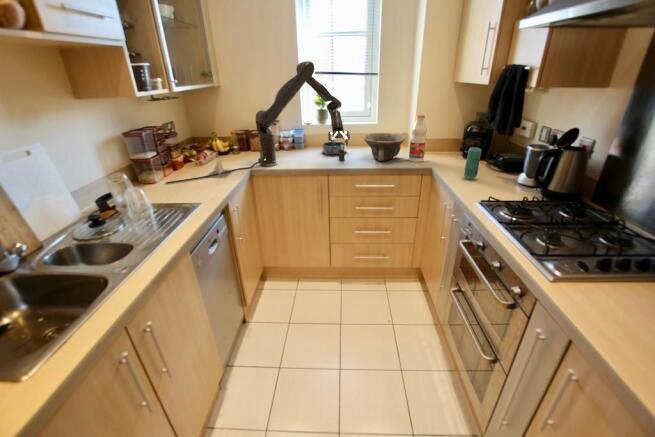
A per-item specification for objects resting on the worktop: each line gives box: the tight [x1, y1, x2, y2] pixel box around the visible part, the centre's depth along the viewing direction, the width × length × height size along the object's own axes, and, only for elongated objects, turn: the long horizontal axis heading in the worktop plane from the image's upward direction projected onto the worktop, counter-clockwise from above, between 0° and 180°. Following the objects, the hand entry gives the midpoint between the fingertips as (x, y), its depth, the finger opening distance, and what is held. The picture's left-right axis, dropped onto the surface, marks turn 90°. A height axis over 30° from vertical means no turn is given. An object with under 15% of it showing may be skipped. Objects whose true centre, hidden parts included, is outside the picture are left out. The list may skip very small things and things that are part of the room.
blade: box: [338, 144, 345, 162], centre depth 207 cm, size 3×5×10 cm, turn 9°
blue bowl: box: [322, 141, 347, 155], centre depth 229 cm, size 17×17×6 cm
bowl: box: [363, 132, 406, 162], centre depth 206 cm, size 27×26×15 cm
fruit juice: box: [408, 114, 428, 163], centre depth 199 cm, size 9×9×28 cm
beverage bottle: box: [463, 140, 483, 179], centre depth 164 cm, size 6×7×20 cm
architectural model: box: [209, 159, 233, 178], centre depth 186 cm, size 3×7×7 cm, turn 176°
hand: (340, 145), depth 209 cm, fingers open, 8 cm apart
